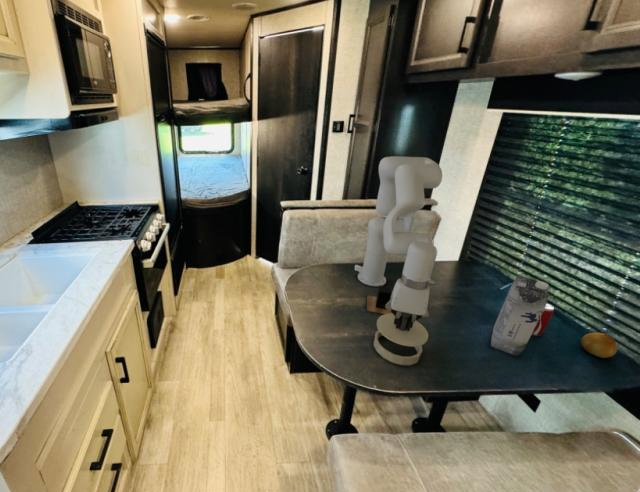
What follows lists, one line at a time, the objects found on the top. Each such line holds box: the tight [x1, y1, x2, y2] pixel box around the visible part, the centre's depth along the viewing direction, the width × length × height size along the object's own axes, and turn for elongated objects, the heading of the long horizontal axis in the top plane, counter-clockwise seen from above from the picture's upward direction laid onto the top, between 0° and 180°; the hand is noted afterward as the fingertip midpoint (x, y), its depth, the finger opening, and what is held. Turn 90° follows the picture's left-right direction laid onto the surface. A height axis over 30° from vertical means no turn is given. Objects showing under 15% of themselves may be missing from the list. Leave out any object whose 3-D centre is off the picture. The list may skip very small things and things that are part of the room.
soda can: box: [531, 302, 555, 337], centre depth 113 cm, size 5×5×12 cm
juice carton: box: [490, 274, 550, 357], centre depth 104 cm, size 9×10×27 cm
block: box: [375, 285, 392, 310], centre depth 128 cm, size 5×5×8 cm
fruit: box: [581, 332, 618, 359], centre depth 105 cm, size 8×8×8 cm
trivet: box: [366, 294, 393, 315], centre depth 130 cm, size 11×11×1 cm
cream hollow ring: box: [373, 329, 423, 366], centre depth 108 cm, size 15×15×4 cm
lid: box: [376, 312, 429, 348], centre depth 104 cm, size 16×16×7 cm
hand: (402, 326), depth 104 cm, fingers closed on lid, 2 cm apart
